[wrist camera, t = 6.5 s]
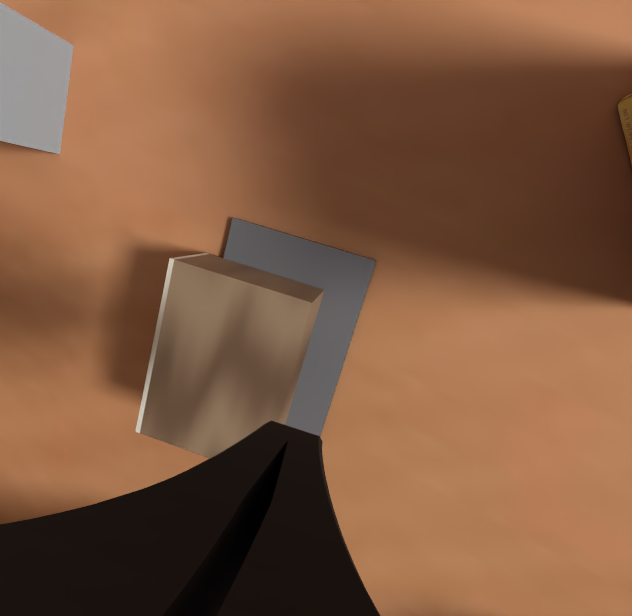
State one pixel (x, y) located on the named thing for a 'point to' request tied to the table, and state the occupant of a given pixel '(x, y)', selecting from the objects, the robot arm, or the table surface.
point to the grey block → (32, 82)
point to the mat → (333, 315)
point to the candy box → (626, 120)
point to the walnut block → (224, 352)
